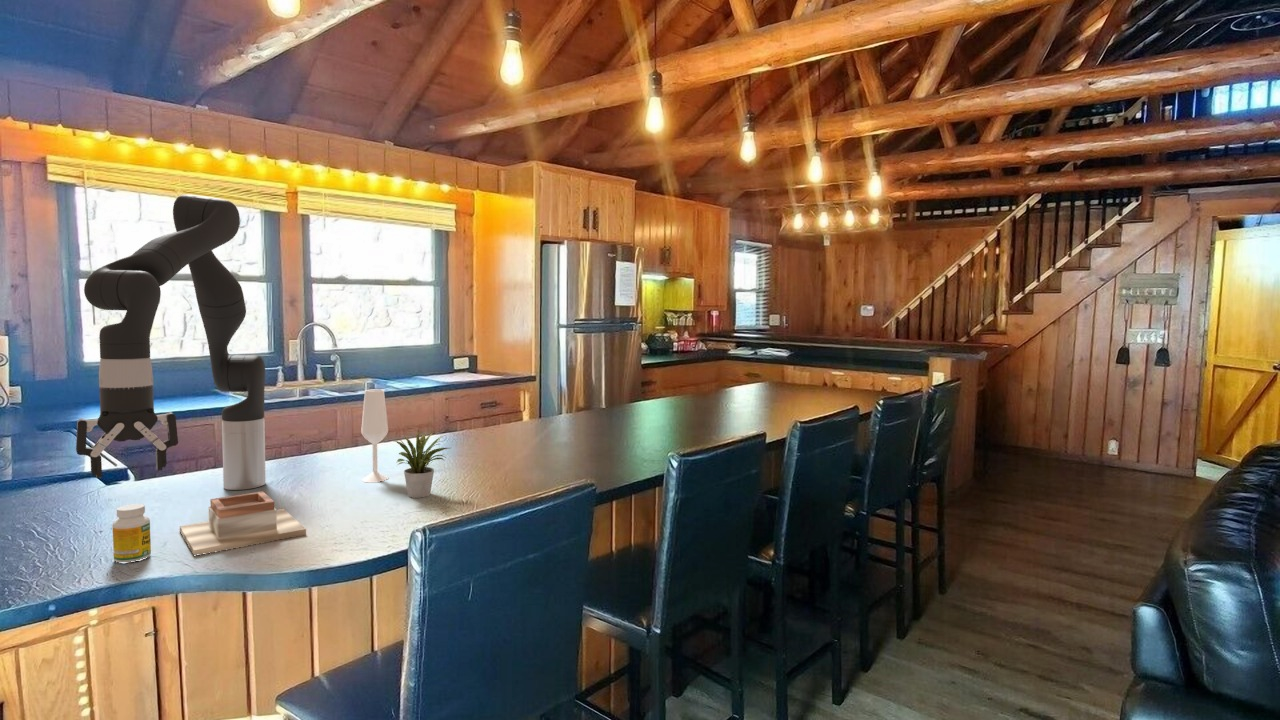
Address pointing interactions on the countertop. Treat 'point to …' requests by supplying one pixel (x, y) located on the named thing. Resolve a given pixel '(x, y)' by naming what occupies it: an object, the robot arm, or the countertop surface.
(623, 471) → the countertop surface
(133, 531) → the supplement bottle
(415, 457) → the house plant
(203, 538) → the tower base
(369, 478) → the champagne flute
